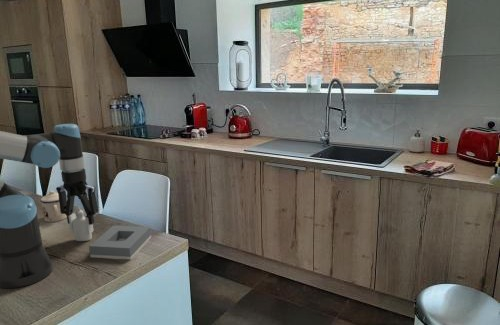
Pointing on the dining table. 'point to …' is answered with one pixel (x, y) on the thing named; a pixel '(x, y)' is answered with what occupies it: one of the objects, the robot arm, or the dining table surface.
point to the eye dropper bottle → (80, 227)
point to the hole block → (120, 242)
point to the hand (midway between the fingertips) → (82, 231)
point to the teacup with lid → (52, 207)
